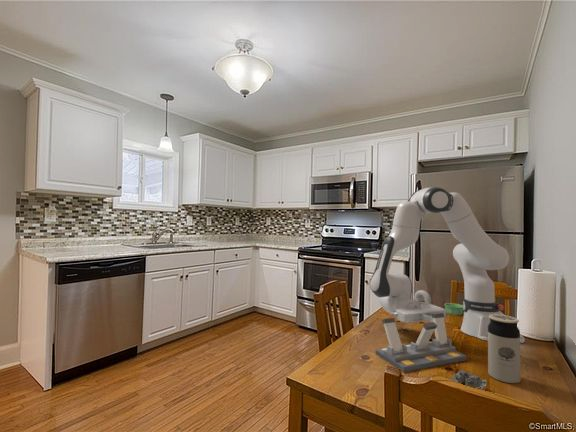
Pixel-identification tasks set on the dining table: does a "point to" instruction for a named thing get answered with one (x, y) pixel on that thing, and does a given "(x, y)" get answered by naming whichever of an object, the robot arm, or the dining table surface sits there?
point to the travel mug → (504, 348)
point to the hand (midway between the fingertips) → (436, 320)
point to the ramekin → (453, 308)
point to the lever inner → (440, 328)
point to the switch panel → (421, 355)
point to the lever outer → (392, 334)
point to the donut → (422, 293)
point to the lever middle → (425, 334)
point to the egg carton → (469, 380)
